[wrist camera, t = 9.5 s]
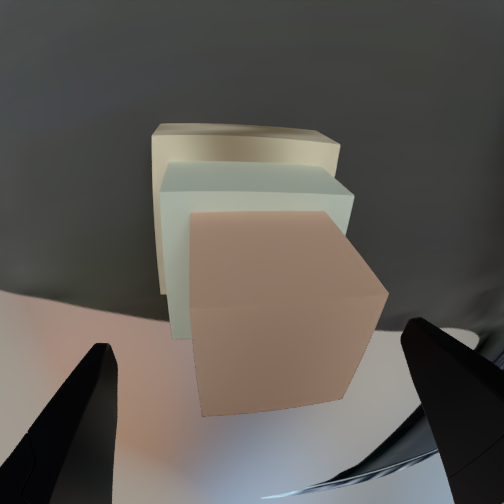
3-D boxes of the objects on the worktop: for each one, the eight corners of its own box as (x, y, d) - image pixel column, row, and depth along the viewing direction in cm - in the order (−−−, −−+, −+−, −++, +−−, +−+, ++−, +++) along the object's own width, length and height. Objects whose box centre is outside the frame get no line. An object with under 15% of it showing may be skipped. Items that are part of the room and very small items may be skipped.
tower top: (320, 166, 13) (354, 195, 11) (298, 284, 17) (318, 331, 14) (168, 161, 12) (159, 191, 9) (174, 288, 16) (172, 339, 13)
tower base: (314, 129, 16) (340, 144, 13) (293, 255, 20) (310, 289, 17) (161, 122, 15) (151, 135, 12) (165, 257, 19) (160, 294, 16)
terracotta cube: (324, 211, 11) (388, 293, 7) (305, 310, 13) (342, 399, 9) (190, 212, 10) (189, 308, 6) (196, 317, 12) (202, 416, 9)
